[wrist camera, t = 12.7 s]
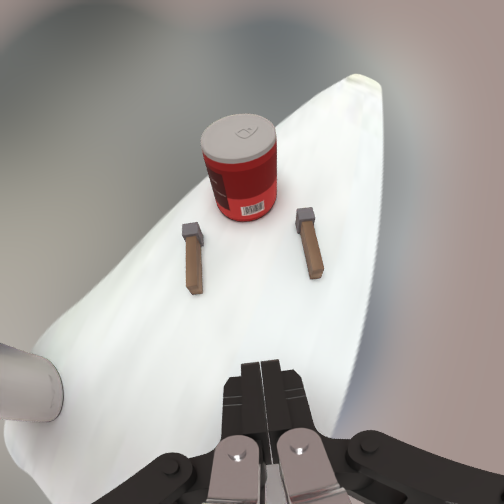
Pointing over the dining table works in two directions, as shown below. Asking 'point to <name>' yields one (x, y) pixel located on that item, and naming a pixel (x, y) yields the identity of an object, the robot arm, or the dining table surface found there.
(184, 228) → the posts
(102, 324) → the dining table surface
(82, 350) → the dining table surface
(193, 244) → the channel walls
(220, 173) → the canned food
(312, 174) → the dining table surface
